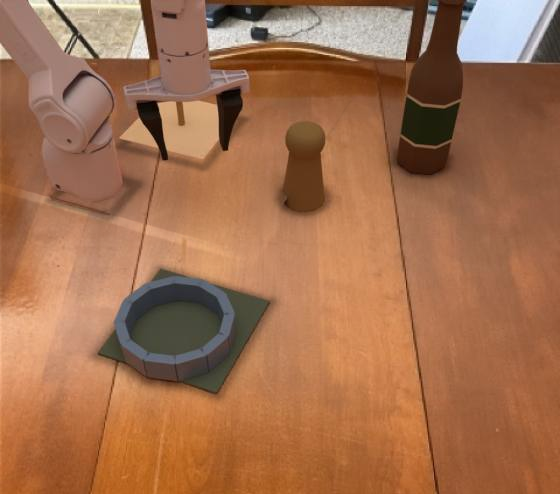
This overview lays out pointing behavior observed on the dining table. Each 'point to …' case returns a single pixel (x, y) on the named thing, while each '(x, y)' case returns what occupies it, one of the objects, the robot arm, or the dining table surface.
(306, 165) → the brown pawn
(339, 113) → the dining table surface
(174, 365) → the ring
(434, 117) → the beer bottle
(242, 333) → the mat
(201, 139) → the stand
